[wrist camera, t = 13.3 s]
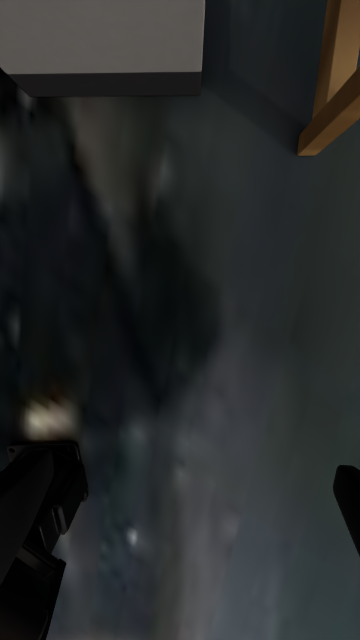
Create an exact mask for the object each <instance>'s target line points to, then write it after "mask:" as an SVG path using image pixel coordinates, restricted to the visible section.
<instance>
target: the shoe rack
mask: <svg viewBox="0 0 360 640" xmlns="http://www.w3.org/2000/svg"><path fill="white" fill-rule="evenodd" d="M359 47H360V0H327V8H326V16H325V23H324V31H323V39H322V47H321V54H320V62H319V70H318V78H317V86H316V93H315V101H314V109H313V117H312V119H313V120H312V121H311V122H310V124H309V125H308V126H307V127H306V128H305V129H304V130H303V132H302V133H301V134H300V135H299V143H298V151H297V155H298V156H315V155H316V154H318V153H319V152H320V151H321V150H322V149H324V148H325V147H326V146H327V145H328V144H330V143H331V142H332V141H333V140H334V139H336V138H337V137H338V136H339V135H340V134H342V133H343V132H344V131H345V130H346V129H348V128H349V127H350V126H351V125H352V124H354V123H355V122H356V121H357V120H358V119H360V66H359V67H358V68H357V70H356V66H357V59H358V53H359Z"/></svg>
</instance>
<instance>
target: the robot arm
mask: <svg viewBox="0 0 360 640" xmlns="http://www.w3.org/2000/svg"><path fill="white" fill-rule="evenodd" d="M72 447H73V448H72ZM7 453H8V456H9V460H10V464H9V465H8V466H7V467H6V468H5V470H3V471H2V472H0V640H46V637H47V634H48V630H49V627H50V623H51V619H52V615H53V611H54V608H55V604H56V600H57V596H58V592H59V589H60V585H61V581H62V577H63V573H64V570H65V566H66V562H64V561H63V560H62V559H57V558H56V557H54V556H53V555H52V554H51V553H52V551H53V549H54V547H55V545H56V543H57V541H58V539H59V536H60V535H64V534H65V533H66V532H67V531H68V529H69V527H70V525H71V523H72V520H73V518H74V516H75V514H76V512H77V509H78V507H79V505H80V503H81V502H85V501H86V500H87V497H88V490H87V488H88V484H87V479H86V474H85V469H84V465H83V464H82V460H81V455H80V450H79V445H78V443H77V442H75V441H50V442H13V443H11V444H10V445H9V446H8V447H7ZM333 492H334V495H335V498H336V500H337V503H338V505H339V508H340V510H341V512H342V515H343V517H344V520H345V522H346V525H347V527H348V530H349V532H350V535H351V537H352V539H353V542H354V544H355V547H356V549H357V551H358V554H359V556H360V470H359V469H357V468H356V467H354V466H350V465H339V466H338V467H337V470H336V474H335V479H334V484H333Z"/></svg>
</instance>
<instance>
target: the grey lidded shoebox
mask: <svg viewBox="0 0 360 640" xmlns="http://www.w3.org/2000/svg"><path fill="white" fill-rule="evenodd" d="M204 16H205V0H0V68H1V69H2V70H3V71H4V72H5V73H7V74H8V76H9V77H10V78H11V79H12V80H13V81H15V82H16V83H17V84H18V85H19V86H20V87H21V88H22V89H23V90H24V91H25V92H26V93H27V94H28V95H29V96H30V97H60V96H176V95H200V94H201V77H202V56H203V36H204Z"/></svg>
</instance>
